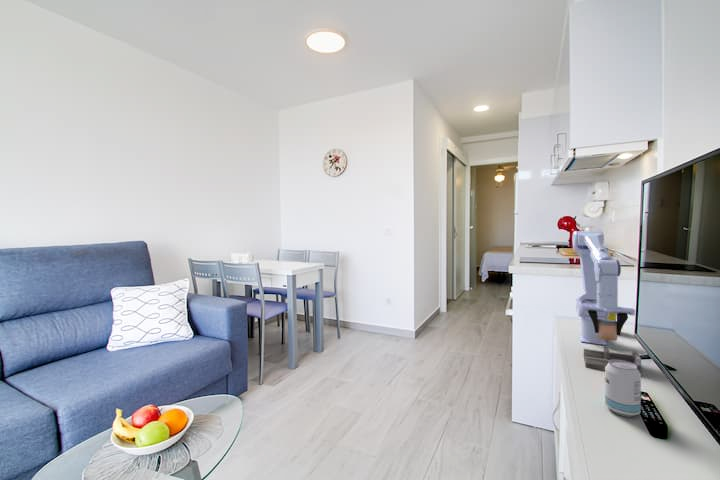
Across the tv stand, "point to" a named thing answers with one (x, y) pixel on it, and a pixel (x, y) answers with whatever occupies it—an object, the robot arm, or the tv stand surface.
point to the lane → (598, 362)
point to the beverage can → (623, 388)
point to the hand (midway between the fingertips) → (607, 333)
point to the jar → (607, 329)
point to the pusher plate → (606, 353)
